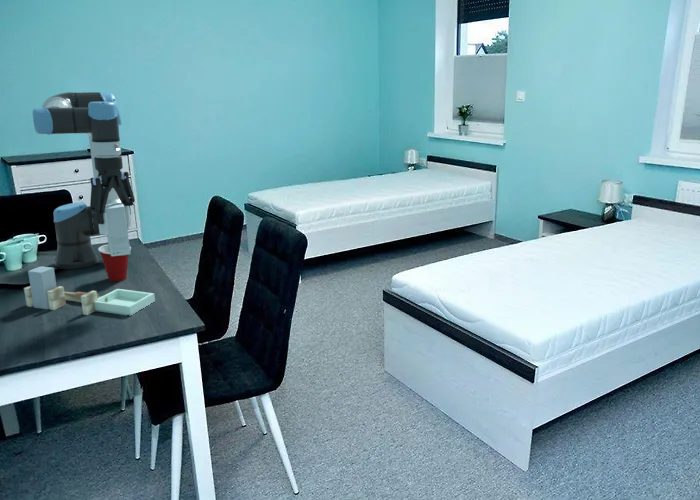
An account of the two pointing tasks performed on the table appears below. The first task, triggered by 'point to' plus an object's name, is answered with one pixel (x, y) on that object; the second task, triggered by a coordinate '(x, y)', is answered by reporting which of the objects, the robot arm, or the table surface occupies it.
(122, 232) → the skincare box
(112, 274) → the plastic cup
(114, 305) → the tray
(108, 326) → the table surface
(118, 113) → the robot arm
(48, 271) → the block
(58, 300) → the beige elongated piece
